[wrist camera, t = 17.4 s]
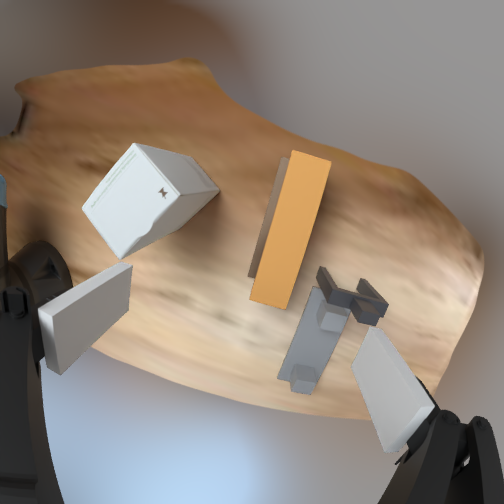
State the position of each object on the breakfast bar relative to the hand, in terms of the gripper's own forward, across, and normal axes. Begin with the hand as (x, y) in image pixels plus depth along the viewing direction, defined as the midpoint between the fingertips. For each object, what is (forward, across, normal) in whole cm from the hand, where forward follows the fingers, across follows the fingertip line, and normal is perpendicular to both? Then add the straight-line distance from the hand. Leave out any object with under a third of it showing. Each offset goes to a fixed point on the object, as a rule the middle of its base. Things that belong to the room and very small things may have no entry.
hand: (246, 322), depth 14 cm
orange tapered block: (+18, +3, +3) cm, 19 cm away
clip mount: (+22, +12, -12) cm, 28 cm away
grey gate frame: (+22, +12, -2) cm, 25 cm away
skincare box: (+23, -11, +3) cm, 26 cm away
